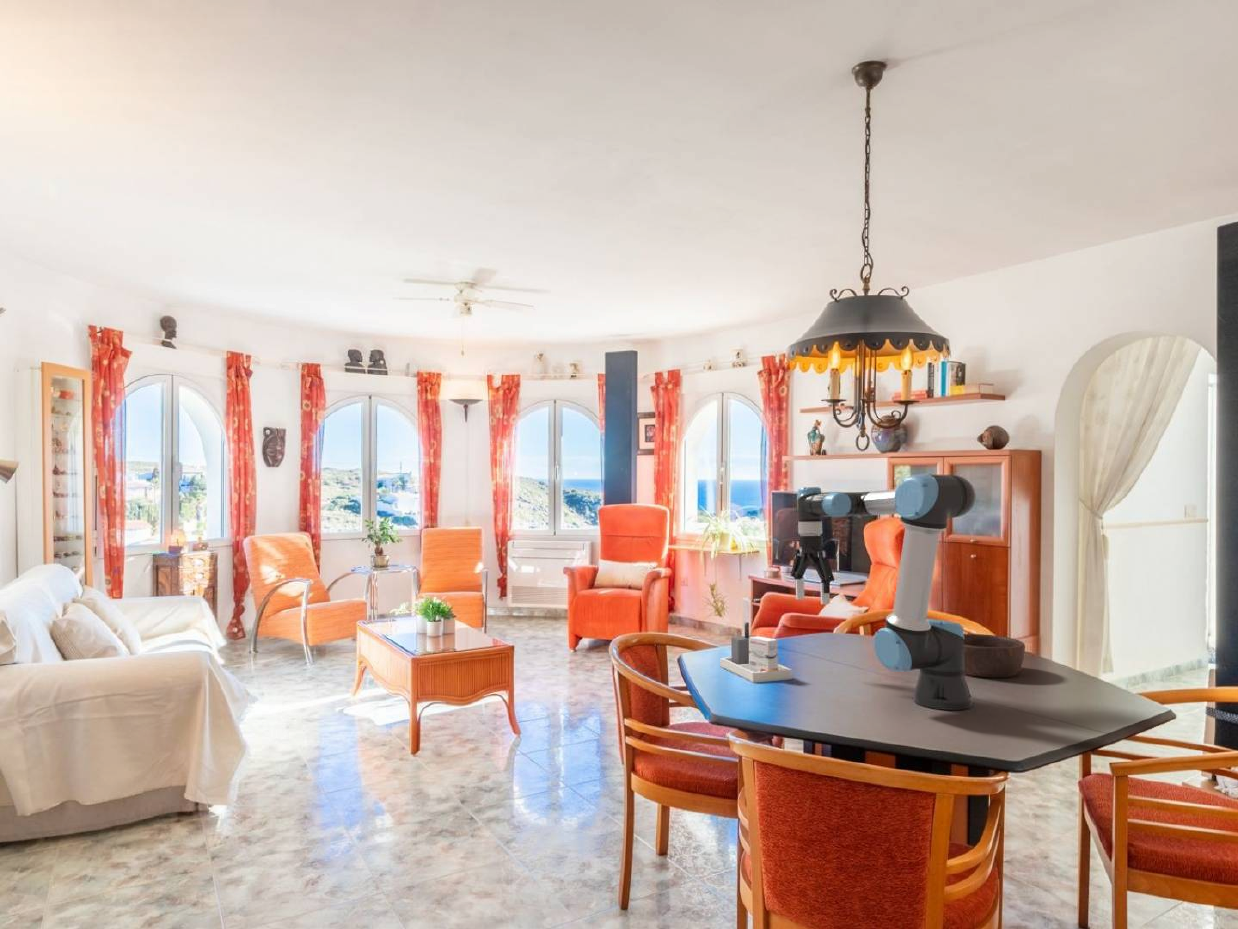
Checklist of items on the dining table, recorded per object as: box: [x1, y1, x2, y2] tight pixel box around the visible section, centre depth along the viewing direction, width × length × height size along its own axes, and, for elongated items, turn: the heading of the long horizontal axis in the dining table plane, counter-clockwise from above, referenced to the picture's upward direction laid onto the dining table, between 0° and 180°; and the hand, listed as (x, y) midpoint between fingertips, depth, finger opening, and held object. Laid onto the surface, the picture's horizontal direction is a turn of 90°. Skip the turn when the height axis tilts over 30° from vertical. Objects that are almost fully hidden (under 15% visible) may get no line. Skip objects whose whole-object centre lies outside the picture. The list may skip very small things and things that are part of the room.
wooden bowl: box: [964, 633, 1026, 679], centre depth 253 cm, size 25×25×10 cm
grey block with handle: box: [730, 621, 758, 665], centre depth 257 cm, size 5×9×15 cm, turn 108°
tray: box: [719, 656, 793, 683], centre depth 251 cm, size 23×14×3 cm, turn 18°
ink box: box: [749, 635, 779, 672], centre depth 246 cm, size 8×5×12 cm, turn 39°
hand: (812, 601), depth 245 cm, fingers open, 13 cm apart
